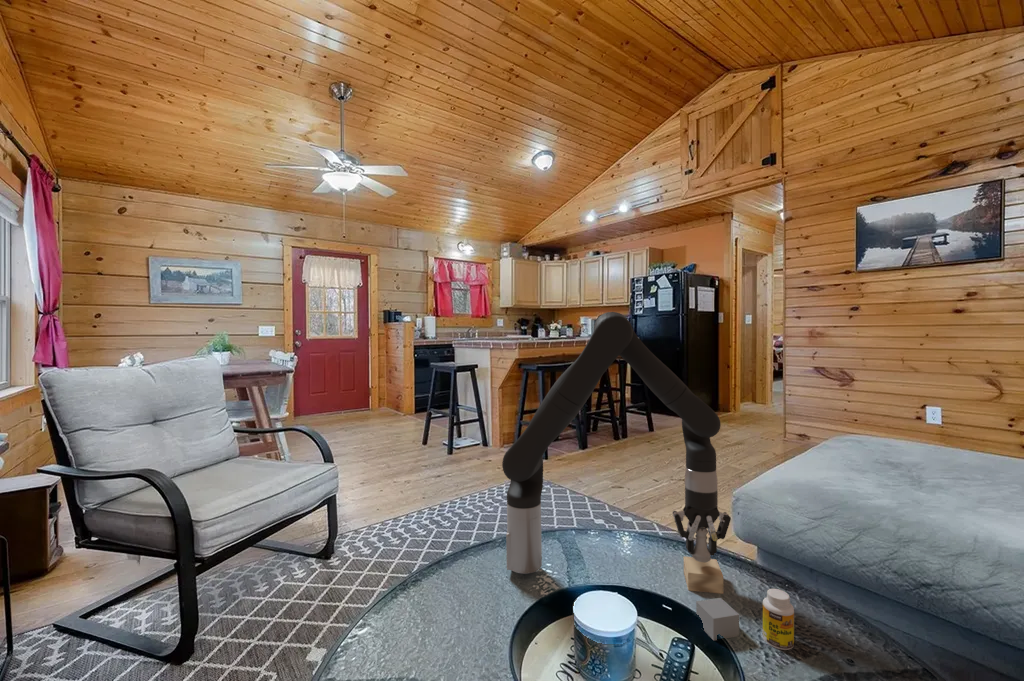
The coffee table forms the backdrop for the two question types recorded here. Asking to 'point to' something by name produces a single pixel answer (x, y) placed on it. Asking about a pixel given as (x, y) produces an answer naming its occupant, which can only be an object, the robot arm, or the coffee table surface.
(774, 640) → the supplement bottle
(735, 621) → the slate block
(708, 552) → the rook chess piece
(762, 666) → the coffee table surface
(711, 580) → the oak block
